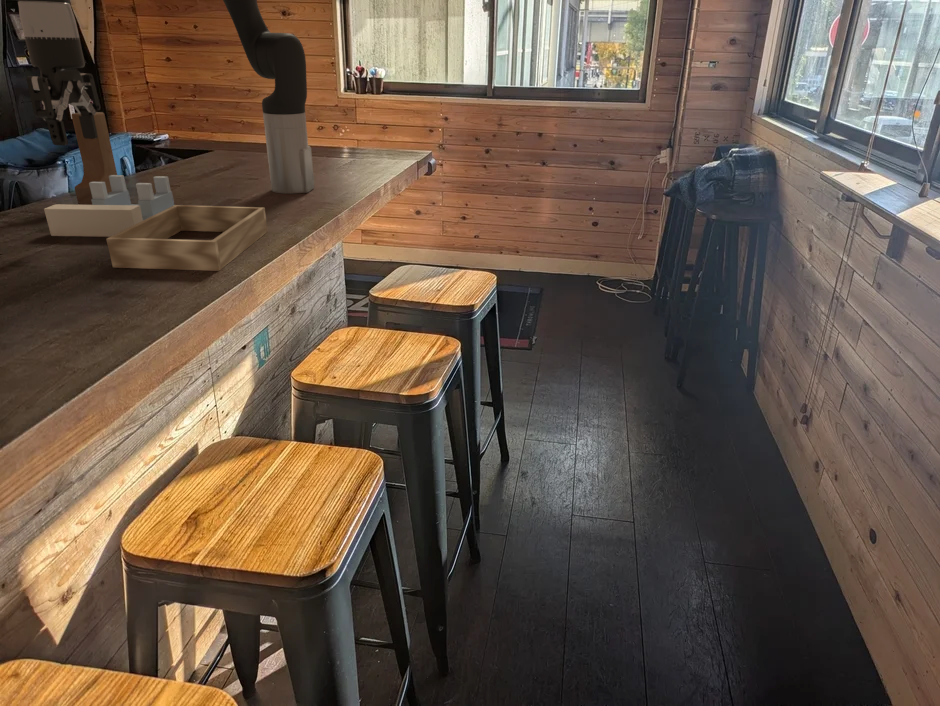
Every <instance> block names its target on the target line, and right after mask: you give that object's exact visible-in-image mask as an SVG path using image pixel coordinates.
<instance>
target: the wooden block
mask: <svg viewBox="0 0 940 706" xmlns="http://www.w3.org/2000/svg"><path fill="white" fill-rule="evenodd" d="M79 116H81V115H80V114H79V113H78V112H72V113H71V119H72V123H73V128H74V132H75V136H76V141H77V145H78V150H79V155H80V158H81V161H82V169H83V170H82V171H83V175H82V178H81V182H79V183H78V184H77V185H75V186H74V191H75V195H76V199H77V205H92V201H91V199H93V198H92V194H91V189H90V185H89V183H90V182H105V184H106V189H107V193H109V192H112V189H111V184H110V180H109V176H111V175H118V172H117V167H116V163H115V162H116V161H115V157H114V153H113V148H112V144H111V140H110V135H109V128H108V124H107V119H106V116H105V113H104V112H103V111H96V114H95V115H94V120H95V126H96V129H97V135H98V137H97V138H95V139H86V138H84V137H83V133H82V128H81V124H80V120H79Z"/></svg>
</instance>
